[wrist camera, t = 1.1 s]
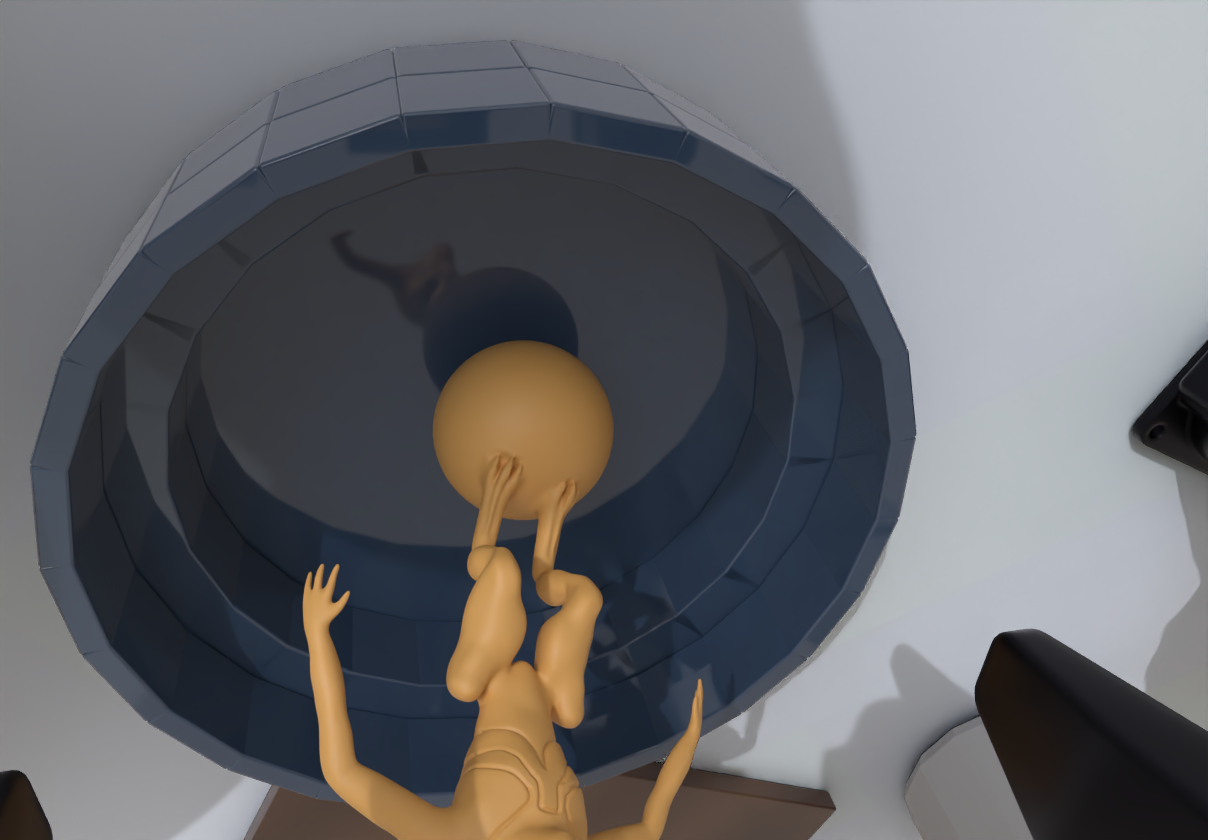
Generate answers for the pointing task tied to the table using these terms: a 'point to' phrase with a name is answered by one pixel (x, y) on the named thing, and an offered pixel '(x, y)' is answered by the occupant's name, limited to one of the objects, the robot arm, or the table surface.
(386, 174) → the basin
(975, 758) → the water bottle
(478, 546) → the figurine
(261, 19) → the table surface
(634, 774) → the walnut board
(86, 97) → the table surface
